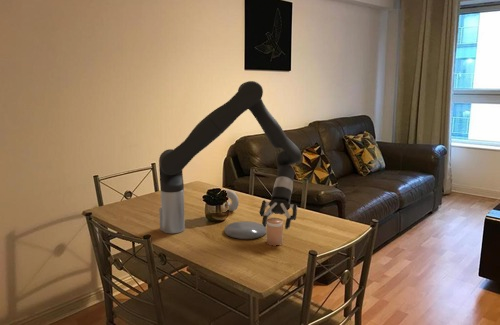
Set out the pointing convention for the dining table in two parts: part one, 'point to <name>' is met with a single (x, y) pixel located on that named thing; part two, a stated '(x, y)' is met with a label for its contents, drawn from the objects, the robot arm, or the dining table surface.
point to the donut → (234, 200)
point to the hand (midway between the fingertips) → (275, 227)
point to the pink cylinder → (274, 231)
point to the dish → (245, 230)
